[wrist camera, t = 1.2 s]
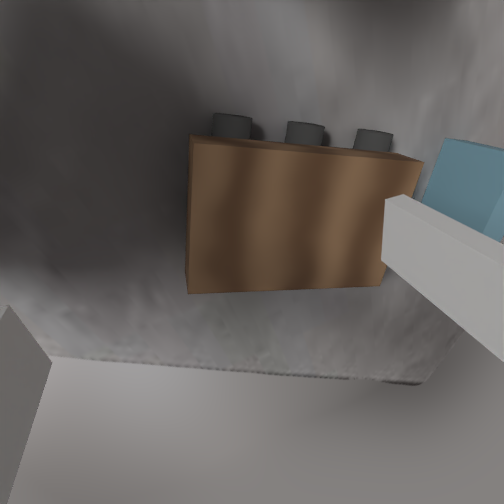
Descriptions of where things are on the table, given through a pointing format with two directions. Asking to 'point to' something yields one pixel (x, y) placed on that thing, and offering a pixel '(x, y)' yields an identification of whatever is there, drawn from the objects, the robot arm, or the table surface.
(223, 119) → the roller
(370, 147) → the cylinder
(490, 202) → the block
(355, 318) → the table surface
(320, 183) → the slab
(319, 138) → the roller mid
